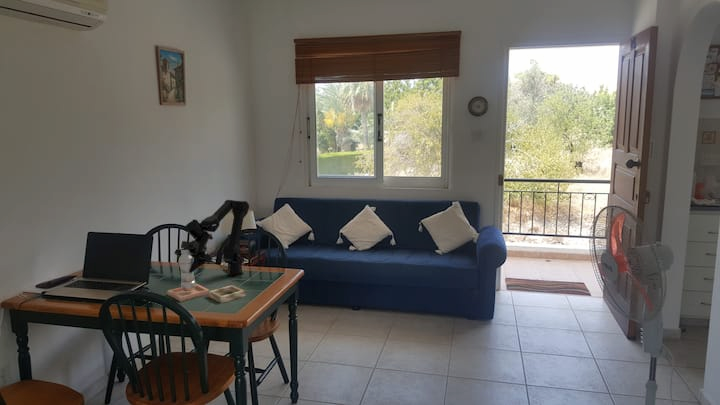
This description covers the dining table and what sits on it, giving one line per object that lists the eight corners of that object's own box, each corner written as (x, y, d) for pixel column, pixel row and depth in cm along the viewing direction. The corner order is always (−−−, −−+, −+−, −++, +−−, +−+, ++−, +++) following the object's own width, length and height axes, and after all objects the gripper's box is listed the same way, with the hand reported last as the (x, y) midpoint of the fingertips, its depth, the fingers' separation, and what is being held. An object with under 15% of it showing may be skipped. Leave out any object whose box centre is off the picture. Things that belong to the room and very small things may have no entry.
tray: (196, 287, 237) (196, 283, 236) (209, 294, 227) (209, 289, 226) (167, 294, 227) (167, 290, 227) (180, 301, 217) (180, 297, 217)
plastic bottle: (195, 292, 224) (192, 250, 221) (180, 293, 223) (176, 251, 220) (197, 287, 231) (194, 246, 227) (182, 288, 229) (178, 247, 226)
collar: (232, 290, 231) (232, 285, 231) (245, 296, 223) (245, 290, 222) (208, 296, 223) (208, 291, 223) (221, 303, 215) (221, 297, 214)
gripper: (175, 232, 230) (159, 261, 222) (205, 235, 222) (189, 265, 214) (189, 244, 238) (174, 272, 230) (218, 247, 230) (204, 277, 222)
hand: (184, 271), depth 224 cm, fingers closed on plastic bottle, 6 cm apart
